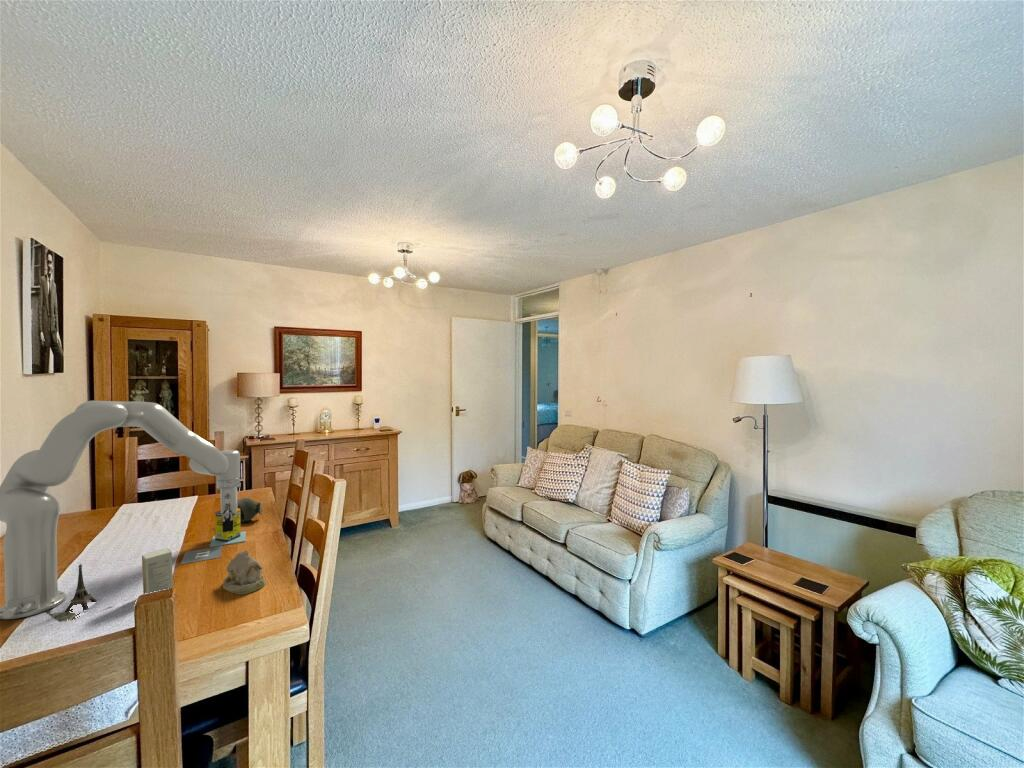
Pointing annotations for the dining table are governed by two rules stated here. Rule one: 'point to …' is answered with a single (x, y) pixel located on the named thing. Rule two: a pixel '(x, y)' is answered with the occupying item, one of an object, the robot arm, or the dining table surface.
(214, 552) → the card
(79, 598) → the eiffel tower figurine
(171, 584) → the skincare box
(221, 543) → the rubber mat
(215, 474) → the robot arm
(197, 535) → the dining table surface
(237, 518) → the supplement box
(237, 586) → the ceramic model
